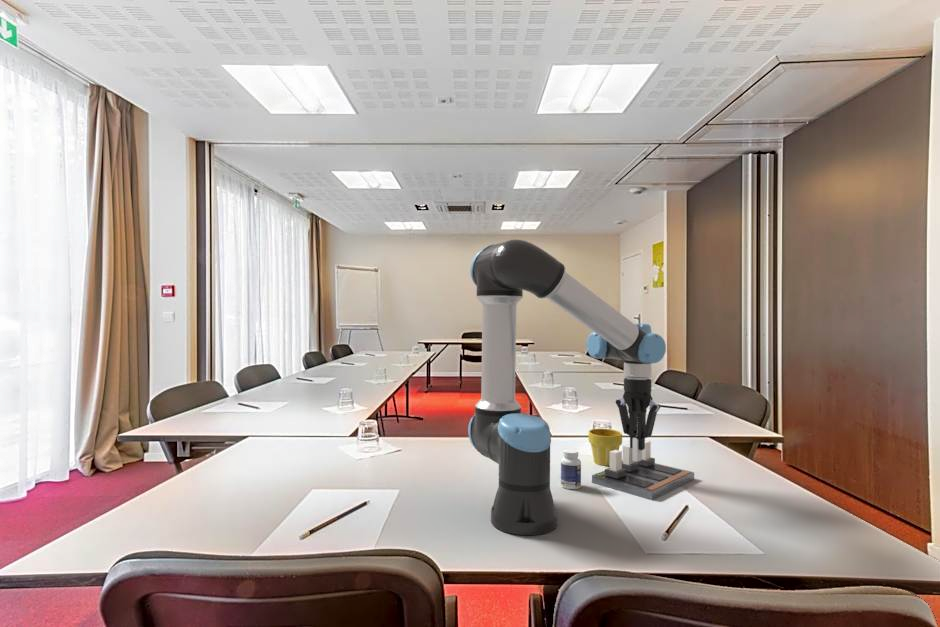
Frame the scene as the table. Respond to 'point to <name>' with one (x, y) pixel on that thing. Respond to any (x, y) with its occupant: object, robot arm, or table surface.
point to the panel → (646, 480)
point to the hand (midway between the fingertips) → (637, 460)
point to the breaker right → (647, 455)
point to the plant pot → (604, 444)
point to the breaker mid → (628, 459)
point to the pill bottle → (570, 470)
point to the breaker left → (615, 465)
